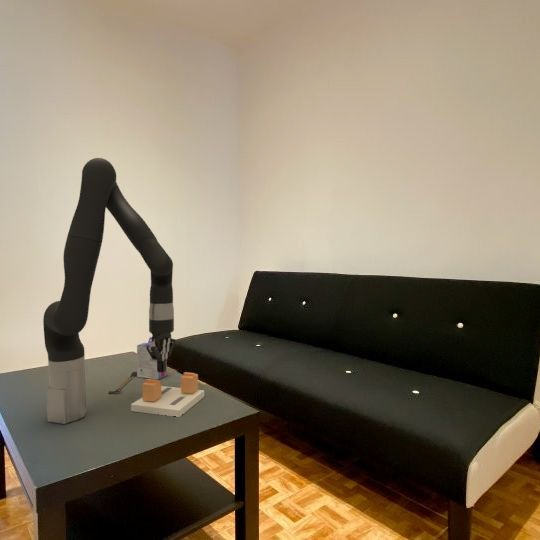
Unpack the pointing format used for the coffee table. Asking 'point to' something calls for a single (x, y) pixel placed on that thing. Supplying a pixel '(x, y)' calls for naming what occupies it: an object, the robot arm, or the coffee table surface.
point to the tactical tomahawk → (123, 384)
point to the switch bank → (169, 402)
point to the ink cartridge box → (147, 363)
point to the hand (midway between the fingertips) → (161, 371)
